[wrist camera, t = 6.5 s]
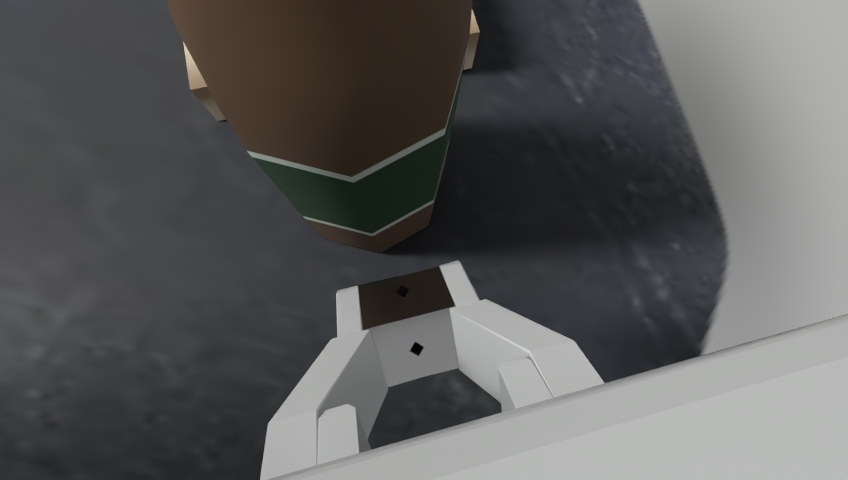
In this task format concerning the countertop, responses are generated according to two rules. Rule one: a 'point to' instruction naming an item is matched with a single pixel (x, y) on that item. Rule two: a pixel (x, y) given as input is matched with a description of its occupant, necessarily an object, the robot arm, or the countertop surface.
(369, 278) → the countertop surface
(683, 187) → the countertop surface
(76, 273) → the countertop surface
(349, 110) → the beer bottle
